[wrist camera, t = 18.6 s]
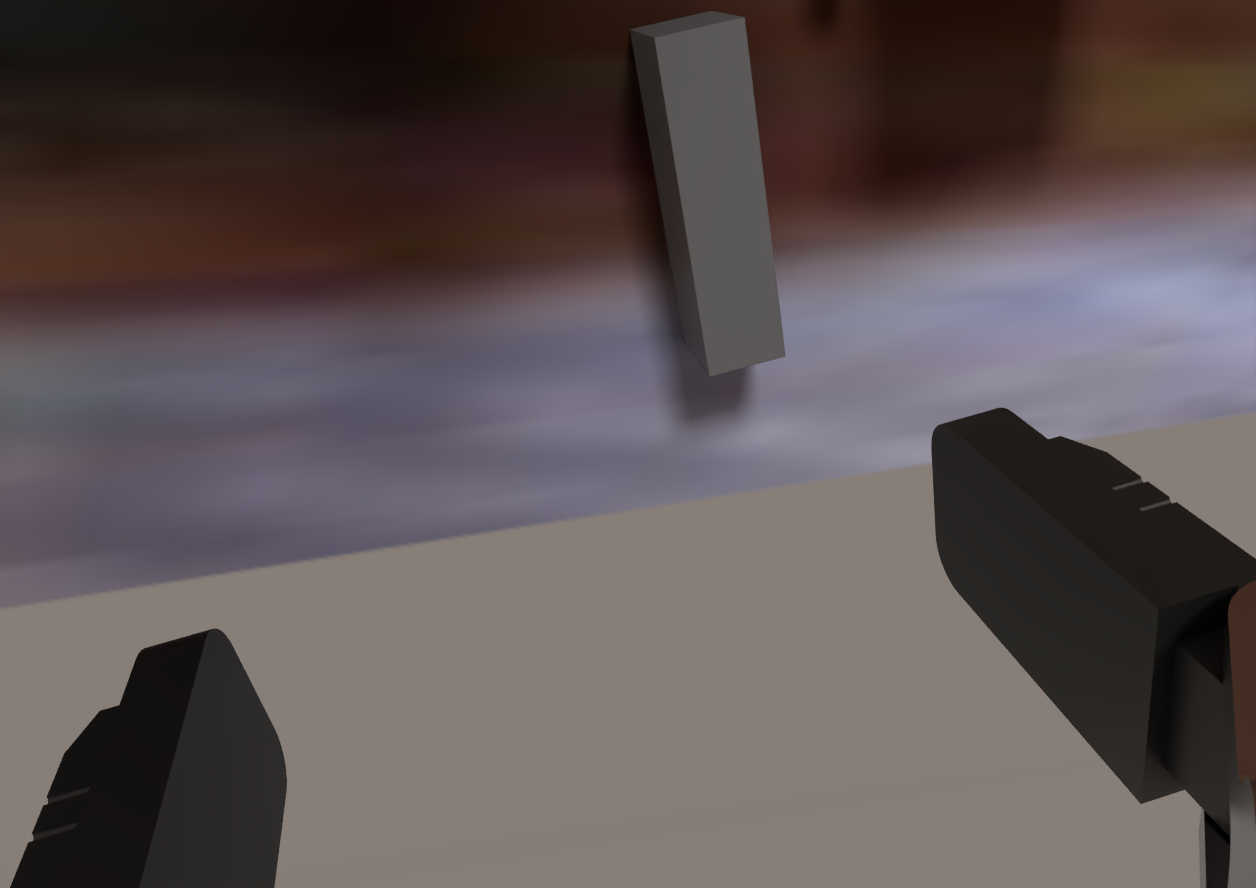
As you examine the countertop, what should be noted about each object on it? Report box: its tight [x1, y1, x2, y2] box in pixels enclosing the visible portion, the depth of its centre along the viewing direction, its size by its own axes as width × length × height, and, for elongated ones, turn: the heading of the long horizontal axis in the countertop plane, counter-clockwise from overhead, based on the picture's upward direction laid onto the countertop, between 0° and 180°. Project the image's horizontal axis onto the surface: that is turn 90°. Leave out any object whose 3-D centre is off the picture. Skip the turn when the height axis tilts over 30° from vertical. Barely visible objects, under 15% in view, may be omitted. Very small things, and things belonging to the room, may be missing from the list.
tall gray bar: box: [630, 11, 785, 376], centre depth 36 cm, size 12×3×4 cm, turn 11°
